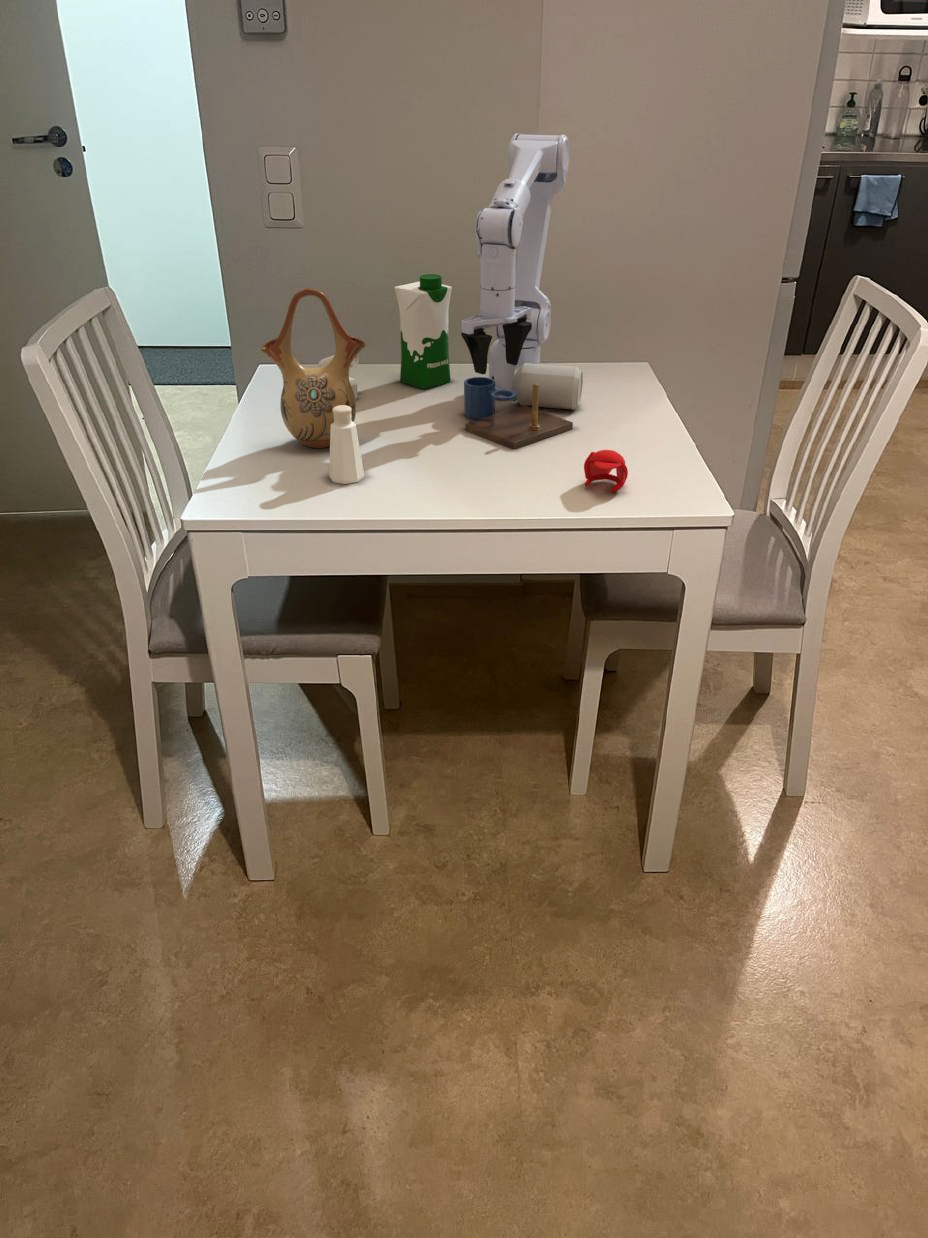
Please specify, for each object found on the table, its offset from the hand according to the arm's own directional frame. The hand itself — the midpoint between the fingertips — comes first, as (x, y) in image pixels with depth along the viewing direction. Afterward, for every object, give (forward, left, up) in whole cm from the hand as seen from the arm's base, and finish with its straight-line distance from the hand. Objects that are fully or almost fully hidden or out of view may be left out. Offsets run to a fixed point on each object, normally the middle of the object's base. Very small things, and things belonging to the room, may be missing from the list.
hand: (496, 368), depth 164 cm
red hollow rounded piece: (+33, -10, -9) cm, 36 cm away
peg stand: (+7, -2, -9) cm, 12 cm away
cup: (0, -2, -9) cm, 9 cm away
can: (+7, +14, -5) cm, 16 cm away
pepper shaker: (+4, -36, -9) cm, 37 cm away
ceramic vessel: (-10, -31, -9) cm, 33 cm away
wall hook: (-28, -15, -9) cm, 32 cm away
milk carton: (-24, +3, -9) cm, 25 cm away
